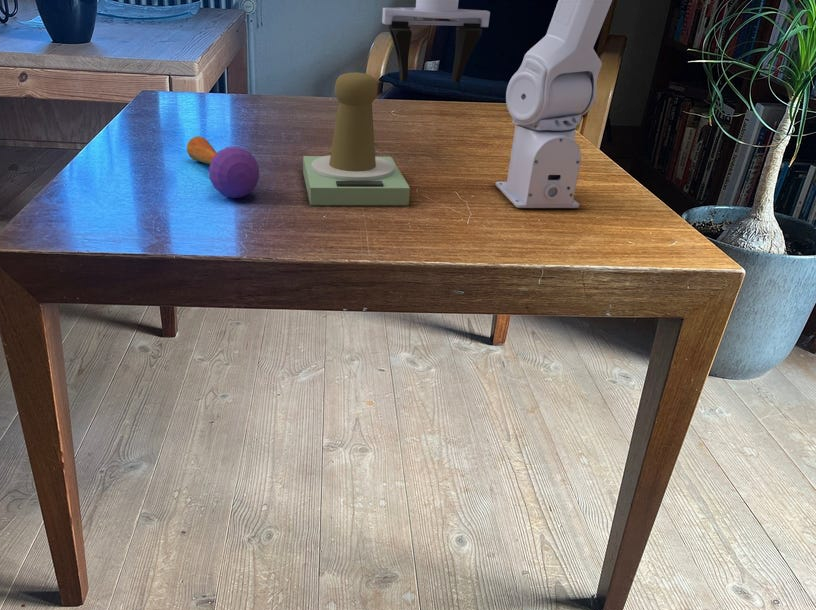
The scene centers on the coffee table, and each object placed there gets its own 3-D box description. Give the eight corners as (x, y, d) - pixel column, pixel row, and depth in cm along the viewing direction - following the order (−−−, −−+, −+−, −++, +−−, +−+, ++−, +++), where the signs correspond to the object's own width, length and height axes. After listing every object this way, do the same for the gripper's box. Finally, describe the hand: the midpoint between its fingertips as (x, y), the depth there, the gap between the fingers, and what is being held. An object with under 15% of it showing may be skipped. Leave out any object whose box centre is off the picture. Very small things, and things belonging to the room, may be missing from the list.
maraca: (221, 129, 102) (269, 154, 86) (216, 172, 105) (262, 205, 88) (179, 123, 100) (220, 148, 83) (175, 168, 102) (214, 200, 86)
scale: (408, 205, 89) (410, 183, 88) (310, 205, 88) (310, 183, 86) (390, 172, 101) (391, 152, 100) (303, 172, 100) (303, 152, 98)
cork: (372, 173, 91) (377, 79, 85) (324, 168, 92) (326, 75, 86) (379, 160, 96) (385, 71, 90) (334, 156, 97) (337, 68, 91)
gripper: (484, -27, 102) (472, 76, 109) (381, -31, 100) (375, 75, 107) (499, -24, 96) (485, 85, 103) (390, -28, 94) (382, 84, 101)
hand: (429, 81), depth 105 cm, fingers open, 7 cm apart
